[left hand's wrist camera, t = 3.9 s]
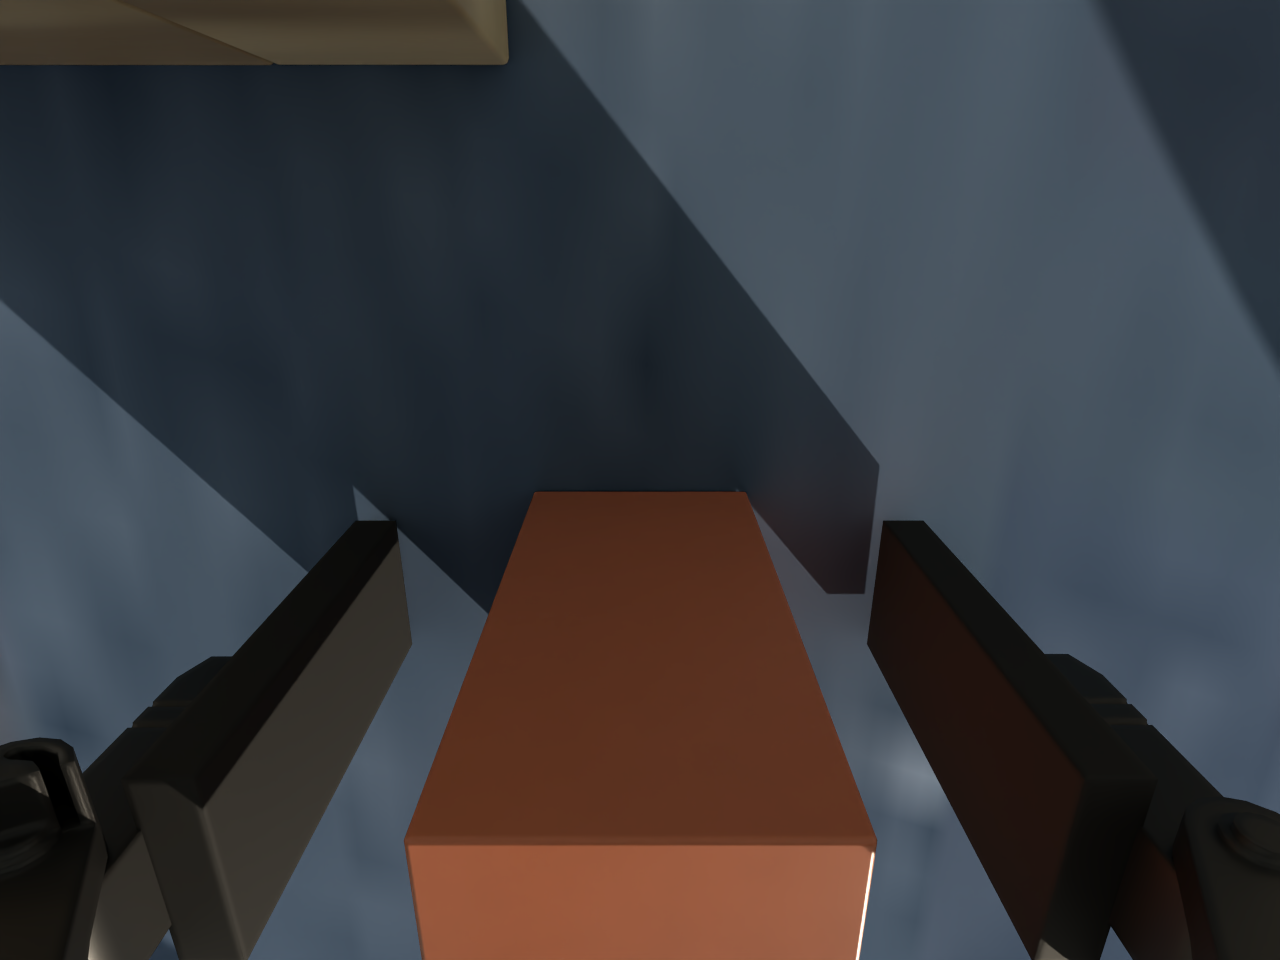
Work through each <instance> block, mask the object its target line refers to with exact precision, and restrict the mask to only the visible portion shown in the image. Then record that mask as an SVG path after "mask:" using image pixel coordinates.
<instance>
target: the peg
mask: <svg viewBox="0 0 1280 960" xmlns="http://www.w3.org/2000/svg"><path fill="white" fill-rule="evenodd" d="M404 844H405V851H406V858H407V864H408V871H409V877H410V884H411V890H412V897H413V904H414V910H415V917H416V923H417V930H418V937H419V943H420V950H421V956H422V960H859V956H860V950H861V943H862V937H863V930H864V924H865V917H866V911H867V904H868V898H869V891H870V885H871V878H872V872H873V865H874V859H875V852H876V845H877V838H876V836H875V833H874V831H873V828H872V825H871V823H870V820H869V817H868V815H867V812H866V809H865V807H864V804H863V801H862V799H861V796H860V793H859V791H858V788H857V785H856V783H855V780H854V777H853V775H852V772H851V769H850V767H849V764H848V762H847V759H846V756H845V754H844V751H843V748H842V746H841V743H840V740H839V738H838V735H837V732H836V730H835V727H834V724H833V722H832V719H831V716H830V714H829V711H828V708H827V706H826V703H825V701H824V698H823V695H822V693H821V690H820V687H819V685H818V682H817V679H816V677H815V674H814V671H813V669H812V666H811V663H810V661H809V658H808V655H807V653H806V650H805V647H804V645H803V642H802V640H801V637H800V634H799V632H798V629H797V626H796V624H795V621H794V618H793V616H792V613H791V610H790V608H789V605H788V602H787V600H786V597H785V594H784V592H783V589H782V586H781V584H780V581H779V579H778V576H777V573H776V571H775V568H774V565H773V563H772V560H771V557H770V555H769V552H768V549H767V547H766V544H765V541H764V539H763V536H762V533H761V531H760V528H759V525H758V523H757V520H756V518H755V515H754V512H753V510H752V507H751V504H750V502H749V499H748V496H747V494H746V492H535V493H534V495H533V498H532V500H531V503H530V506H529V508H528V511H527V514H526V516H525V519H524V522H523V524H522V527H521V530H520V532H519V535H518V538H517V540H516V543H515V546H514V548H513V551H512V554H511V556H510V559H509V562H508V564H507V567H506V570H505V572H504V575H503V578H502V580H501V583H500V586H499V588H498V591H497V594H496V596H495V599H494V602H493V604H492V607H491V610H490V612H489V615H488V618H487V620H486V623H485V626H484V628H483V631H482V634H481V636H480V639H479V642H478V644H477V647H476V650H475V652H474V655H473V658H472V660H471V663H470V666H469V668H468V671H467V673H466V676H465V679H464V681H463V684H462V687H461V689H460V692H459V695H458V697H457V700H456V703H455V705H454V708H453V711H452V713H451V716H450V719H449V721H448V724H447V727H446V729H445V732H444V735H443V737H442V740H441V743H440V745H439V748H438V751H437V753H436V756H435V759H434V761H433V764H432V767H431V769H430V772H429V775H428V777H427V780H426V783H425V785H424V788H423V791H422V793H421V796H420V799H419V801H418V804H417V807H416V809H415V812H414V815H413V817H412V820H411V823H410V825H409V828H408V831H407V833H406V836H405V839H404Z"/></svg>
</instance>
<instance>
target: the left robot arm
mask: <svg viewBox="0 0 1280 960" xmlns="http://www.w3.org/2000/svg"><path fill="white" fill-rule="evenodd" d="M411 645H412V640H411V632H410V624H409V617H408V609H407V602H406V594H405V586H404V579H403V571H402V564H401V556H400V548H399V541H398V533H397V526H396V521H355V522H354V523H353V524H352V525H351V527H350V528H349V529H348V530H347V531H346V532H345V533H344V534H343V535H342V536H341V538H340V539H339V540H338V541H337V542H336V543H335V544H334V545H333V546H332V547H331V549H330V550H329V551H328V552H327V553H326V554H325V555H324V556H323V557H322V558H321V560H320V561H319V562H318V563H317V564H316V565H315V566H314V567H313V568H312V569H311V571H310V572H309V573H308V574H307V575H306V576H305V577H304V578H303V579H302V580H301V582H300V583H299V584H298V585H297V586H296V587H295V588H294V589H293V590H292V591H291V593H290V594H289V595H288V596H287V597H286V598H285V599H284V600H283V601H282V602H281V604H280V605H279V606H278V607H277V608H276V609H275V610H274V611H273V612H272V613H271V615H270V616H269V617H268V618H267V619H266V620H265V621H264V622H263V623H262V624H261V626H260V627H259V628H258V629H257V630H256V631H255V632H254V633H253V634H252V635H251V637H250V638H249V639H248V640H247V641H246V642H245V643H244V644H243V645H242V646H241V648H240V649H239V650H238V651H237V652H236V653H235V654H234V655H233V656H232V657H210V658H208V659H207V660H205V661H203V662H202V663H200V664H198V665H197V666H195V667H193V668H192V669H190V670H189V671H187V672H185V673H184V674H182V675H180V676H179V677H177V678H176V679H175V680H174V681H173V682H172V683H171V684H170V685H169V686H168V687H167V688H166V689H165V690H164V691H163V692H162V693H161V694H160V695H159V696H158V697H157V698H156V699H155V700H154V701H153V706H152V707H148V708H147V709H146V710H145V711H144V712H143V713H142V714H141V715H140V716H139V717H138V718H137V719H136V720H135V721H134V722H133V726H132V728H127V729H126V730H125V731H124V732H123V733H122V734H121V735H120V736H119V737H118V738H117V739H116V740H115V741H114V742H113V743H112V744H111V745H110V746H109V747H108V748H107V749H106V750H105V751H104V752H103V753H102V754H101V755H100V756H99V757H98V758H97V759H96V760H95V761H94V762H93V763H92V764H91V765H90V766H89V767H88V768H87V769H86V770H85V771H84V772H83V773H82V771H81V769H80V766H79V763H78V760H77V757H76V754H75V751H74V749H73V747H72V746H70V745H69V744H67V743H66V742H64V741H62V740H61V739H50V738H33V739H27V740H21V741H15V742H10V743H7V744H4V745H1V746H0V960H149V958H150V957H151V955H152V954H153V952H154V951H155V949H156V948H157V946H158V945H159V943H160V942H161V940H162V939H163V937H164V935H165V934H166V932H167V931H168V929H169V930H170V933H171V936H172V939H173V942H174V945H175V948H176V951H177V955H178V958H179V960H248V958H249V956H250V954H251V952H252V950H253V948H254V946H255V944H256V942H257V941H258V939H259V937H260V935H261V933H262V931H263V929H264V927H265V925H266V923H267V921H268V919H269V918H270V916H271V914H272V912H273V910H274V908H275V906H276V904H277V902H278V900H279V898H280V896H281V894H282V893H283V891H284V889H285V887H286V885H287V883H288V881H289V879H290V877H291V875H292V873H293V871H294V870H295V868H296V866H297V864H298V862H299V860H300V858H301V856H302V854H303V852H304V850H305V848H306V847H307V845H308V843H309V841H310V839H311V837H312V835H313V833H314V831H315V829H316V827H317V825H318V824H319V822H320V820H321V818H322V816H323V814H324V812H325V810H326V808H327V806H328V804H329V802H330V801H331V799H332V797H333V795H334V793H335V791H336V789H337V787H338V785H339V783H340V781H341V779H342V778H343V776H344V774H345V772H346V770H347V768H348V766H349V764H350V762H351V760H352V758H353V756H354V755H355V753H356V751H357V749H358V747H359V745H360V743H361V741H362V739H363V737H364V735H365V733H366V731H367V730H368V728H369V726H370V724H371V722H372V720H373V718H374V716H375V714H376V712H377V710H378V708H379V707H380V705H381V703H382V701H383V699H384V697H385V695H386V693H387V691H388V689H389V687H390V685H391V684H392V682H393V680H394V678H395V676H396V674H397V672H398V670H399V668H400V666H401V664H402V662H403V661H404V659H405V657H406V655H407V653H408V651H409V649H410V647H411ZM867 645H868V647H869V649H870V651H871V653H872V654H873V656H874V658H875V660H876V662H877V664H878V666H879V668H880V670H881V672H882V674H883V676H884V677H885V679H886V681H887V683H888V685H889V687H890V689H891V691H892V693H893V695H894V697H895V699H896V700H897V702H898V704H899V706H900V708H901V710H902V712H903V714H904V716H905V718H906V720H907V722H908V724H909V725H910V727H911V729H912V731H913V733H914V735H915V737H916V739H917V741H918V743H919V745H920V747H921V748H922V750H923V752H924V754H925V756H926V758H927V760H928V762H929V764H930V766H931V768H932V770H933V771H934V773H935V775H936V777H937V779H938V781H939V783H940V785H941V787H942V789H943V791H944V793H945V794H946V796H947V798H948V800H949V802H950V804H951V806H952V808H953V810H954V812H955V814H956V816H957V818H958V819H959V821H960V823H961V825H962V827H963V829H964V831H965V833H966V835H967V837H968V839H969V841H970V842H971V844H972V846H973V848H974V850H975V852H976V854H977V856H978V858H979V860H980V862H981V864H982V865H983V867H984V869H985V871H986V873H987V875H988V877H989V879H990V881H991V883H992V885H993V887H994V888H995V890H996V892H997V894H998V896H999V898H1000V900H1001V902H1002V904H1003V906H1004V908H1005V910H1006V911H1007V913H1008V915H1009V917H1010V919H1011V921H1012V923H1013V925H1014V927H1015V929H1016V931H1017V933H1018V935H1019V936H1020V938H1021V940H1022V942H1023V944H1024V946H1025V948H1026V950H1027V952H1028V954H1029V956H1030V958H1031V959H1032V960H1100V957H1101V954H1102V951H1103V948H1104V945H1105V942H1106V939H1107V936H1108V933H1109V930H1110V927H1112V928H1113V930H1114V931H1115V933H1116V935H1117V936H1118V938H1119V939H1120V941H1121V942H1122V944H1123V945H1124V947H1125V948H1126V950H1127V951H1128V953H1129V954H1130V956H1131V957H1132V959H1133V960H1280V814H1278V813H1276V812H1274V811H1271V810H1269V809H1266V808H1263V807H1261V806H1258V805H1255V804H1253V803H1250V802H1247V801H1243V800H1237V799H1232V798H1226V797H1223V796H1222V795H1221V794H1220V793H1219V792H1218V791H1217V790H1216V789H1215V788H1214V787H1213V786H1212V785H1211V784H1210V783H1209V782H1208V781H1207V780H1206V779H1205V778H1204V777H1203V776H1202V775H1201V774H1200V773H1199V772H1198V771H1197V770H1196V769H1195V768H1194V767H1193V766H1192V765H1191V764H1190V763H1189V762H1188V761H1187V760H1186V759H1185V758H1184V757H1183V756H1182V755H1181V754H1180V753H1179V752H1178V751H1177V750H1176V749H1175V748H1174V747H1173V745H1172V744H1171V743H1170V742H1169V741H1168V740H1167V739H1166V738H1165V737H1164V736H1163V735H1162V734H1161V733H1160V732H1159V731H1158V730H1157V729H1156V728H1155V727H1154V726H1153V725H1148V724H1147V719H1146V718H1145V717H1144V716H1143V715H1142V714H1141V713H1140V712H1139V711H1138V710H1137V709H1136V708H1135V707H1134V706H1133V705H1132V704H1127V699H1126V698H1125V697H1124V696H1123V695H1122V694H1121V693H1120V692H1119V691H1118V690H1117V689H1116V688H1115V687H1114V686H1113V685H1112V684H1111V683H1110V682H1109V681H1108V680H1107V679H1106V678H1105V677H1104V676H1103V675H1102V674H1100V673H1098V672H1097V671H1095V670H1094V669H1092V668H1090V667H1089V666H1087V665H1085V664H1084V663H1082V662H1080V661H1079V660H1077V659H1075V658H1074V657H1072V656H1070V655H1069V654H1044V653H1043V652H1042V651H1041V650H1040V649H1039V647H1038V646H1037V645H1036V644H1035V643H1034V642H1033V641H1032V640H1031V639H1030V638H1029V636H1028V635H1027V634H1026V633H1025V632H1024V631H1023V630H1022V629H1021V628H1020V627H1019V625H1018V624H1017V623H1016V622H1015V621H1014V620H1013V619H1012V618H1011V617H1010V616H1009V614H1008V613H1007V612H1006V611H1005V610H1004V609H1003V608H1002V607H1001V606H1000V605H999V603H998V602H997V601H996V600H995V599H994V598H993V597H992V596H991V595H990V594H989V592H988V591H987V590H986V589H985V588H984V587H983V586H982V585H981V584H980V583H979V581H978V580H977V579H976V578H975V577H974V576H973V575H972V574H971V573H970V572H969V570H968V569H967V568H966V567H965V566H964V565H963V564H962V563H961V562H960V561H959V559H958V558H957V557H956V556H955V555H954V554H953V553H952V552H951V551H950V550H949V548H948V547H947V546H946V545H945V544H944V543H943V542H942V541H941V540H940V539H939V537H938V536H937V535H936V534H935V533H934V532H933V531H932V530H931V529H930V527H929V526H928V525H927V524H926V523H925V522H924V521H883V526H882V534H881V541H880V549H879V557H878V564H877V572H876V580H875V587H874V595H873V602H872V610H871V618H870V625H869V633H868V641H867Z"/></svg>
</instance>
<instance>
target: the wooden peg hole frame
mask: <svg viewBox="0 0 1280 960" xmlns="http://www.w3.org/2000/svg"><path fill="white" fill-rule="evenodd" d="M508 59H509V51H508V33H507V15H506V0H0V65H271V64H273V63H276V64H278V65H504V64H506V63H508Z"/></svg>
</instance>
